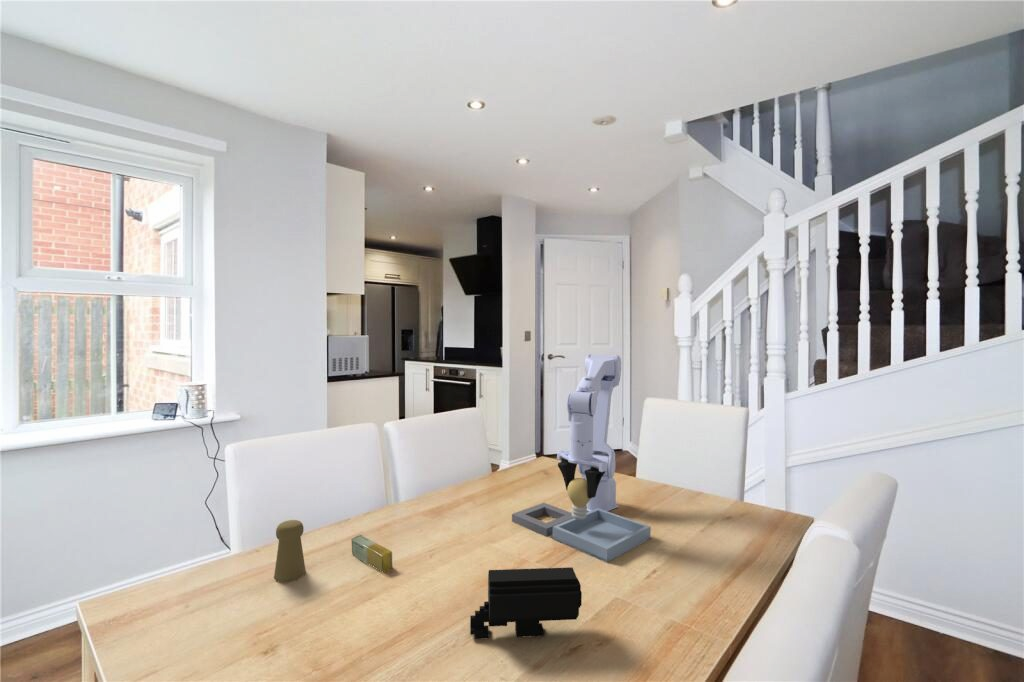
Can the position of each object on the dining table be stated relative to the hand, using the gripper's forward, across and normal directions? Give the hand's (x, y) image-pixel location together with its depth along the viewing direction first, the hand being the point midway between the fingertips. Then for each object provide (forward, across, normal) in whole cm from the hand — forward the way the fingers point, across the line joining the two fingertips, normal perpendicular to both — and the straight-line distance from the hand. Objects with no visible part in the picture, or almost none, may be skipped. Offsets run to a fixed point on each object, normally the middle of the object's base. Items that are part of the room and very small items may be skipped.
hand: (580, 493), depth 123 cm
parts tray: (+10, +6, +1) cm, 12 cm away
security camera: (+10, +20, -38) cm, 44 cm away
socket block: (+10, -10, -2) cm, 14 cm away
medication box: (+10, -21, -46) cm, 51 cm away
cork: (+10, -26, -61) cm, 67 cm away
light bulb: (+6, 0, 0) cm, 6 cm away
